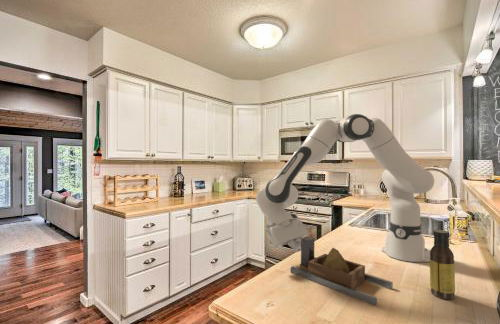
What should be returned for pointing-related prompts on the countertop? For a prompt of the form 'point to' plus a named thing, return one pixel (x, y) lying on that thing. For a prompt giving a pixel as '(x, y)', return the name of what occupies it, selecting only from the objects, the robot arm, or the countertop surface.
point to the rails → (343, 288)
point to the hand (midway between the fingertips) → (299, 250)
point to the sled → (329, 273)
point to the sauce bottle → (442, 266)
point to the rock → (336, 261)
